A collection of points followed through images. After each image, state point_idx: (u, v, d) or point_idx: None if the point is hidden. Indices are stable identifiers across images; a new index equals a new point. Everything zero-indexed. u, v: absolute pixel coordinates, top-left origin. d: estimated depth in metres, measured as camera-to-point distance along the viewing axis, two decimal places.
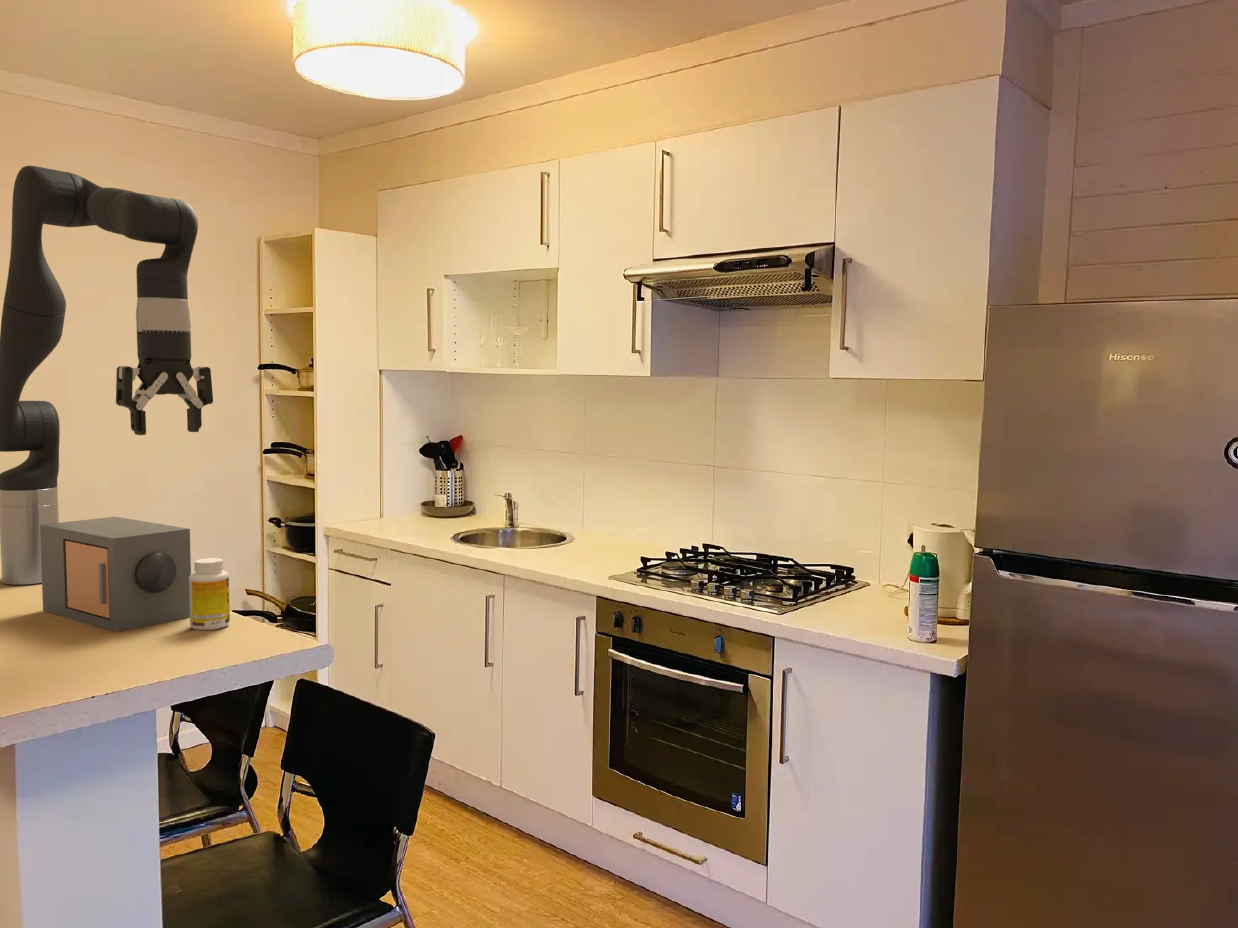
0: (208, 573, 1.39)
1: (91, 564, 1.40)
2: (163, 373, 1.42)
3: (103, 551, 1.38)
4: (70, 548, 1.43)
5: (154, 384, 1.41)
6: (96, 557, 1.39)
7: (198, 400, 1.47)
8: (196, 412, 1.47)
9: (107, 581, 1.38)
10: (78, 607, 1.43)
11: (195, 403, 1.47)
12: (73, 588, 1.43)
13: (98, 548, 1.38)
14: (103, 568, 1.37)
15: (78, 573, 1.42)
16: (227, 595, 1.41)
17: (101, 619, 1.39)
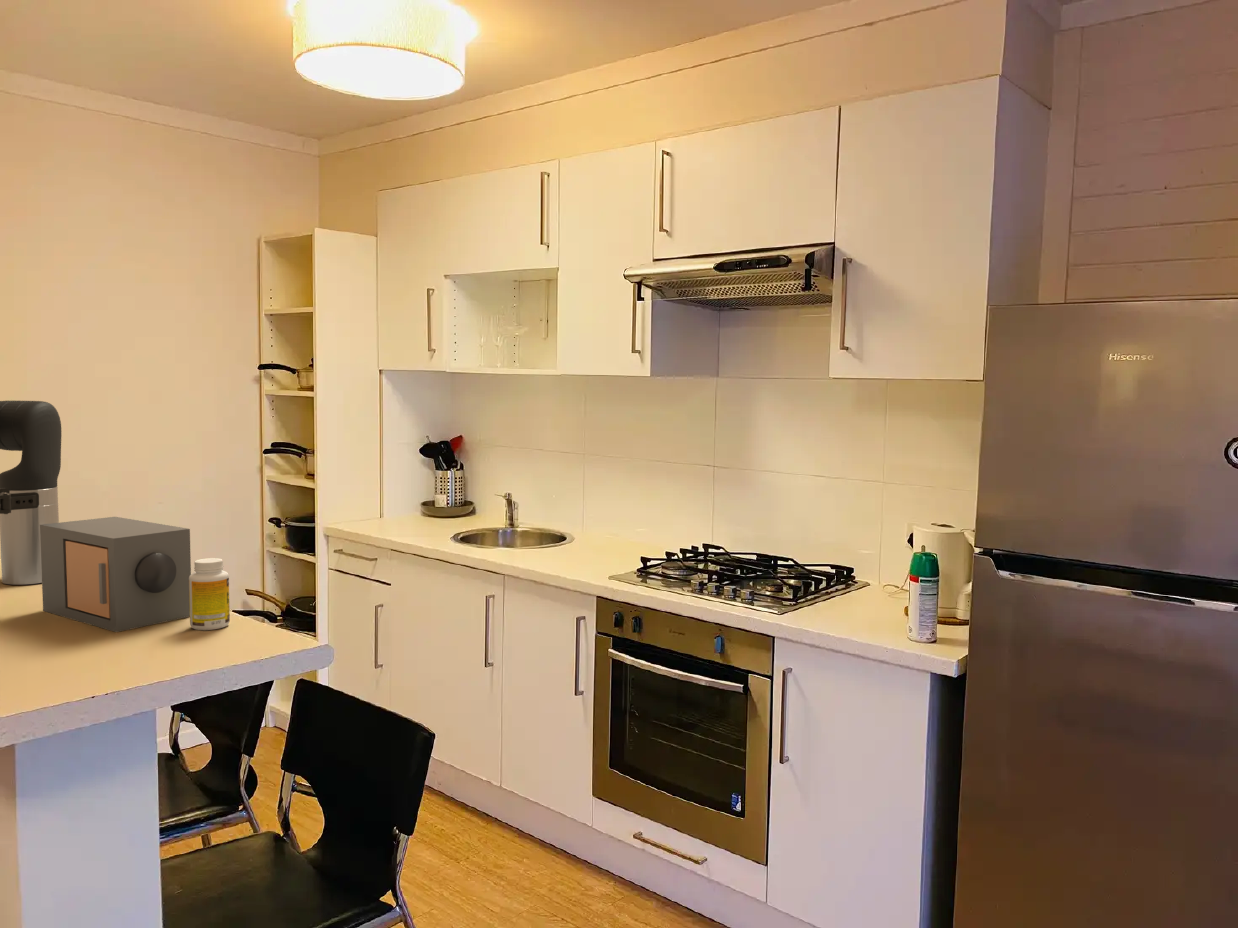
0: (208, 573, 1.39)
1: (91, 564, 1.40)
2: None
3: (103, 551, 1.38)
4: (70, 548, 1.43)
5: None
6: (96, 557, 1.39)
7: None
8: (13, 509, 1.26)
9: (107, 581, 1.38)
10: (78, 607, 1.43)
11: None
12: (73, 588, 1.43)
13: (98, 548, 1.38)
14: (103, 568, 1.37)
15: (78, 573, 1.42)
16: (227, 595, 1.41)
17: (101, 619, 1.39)
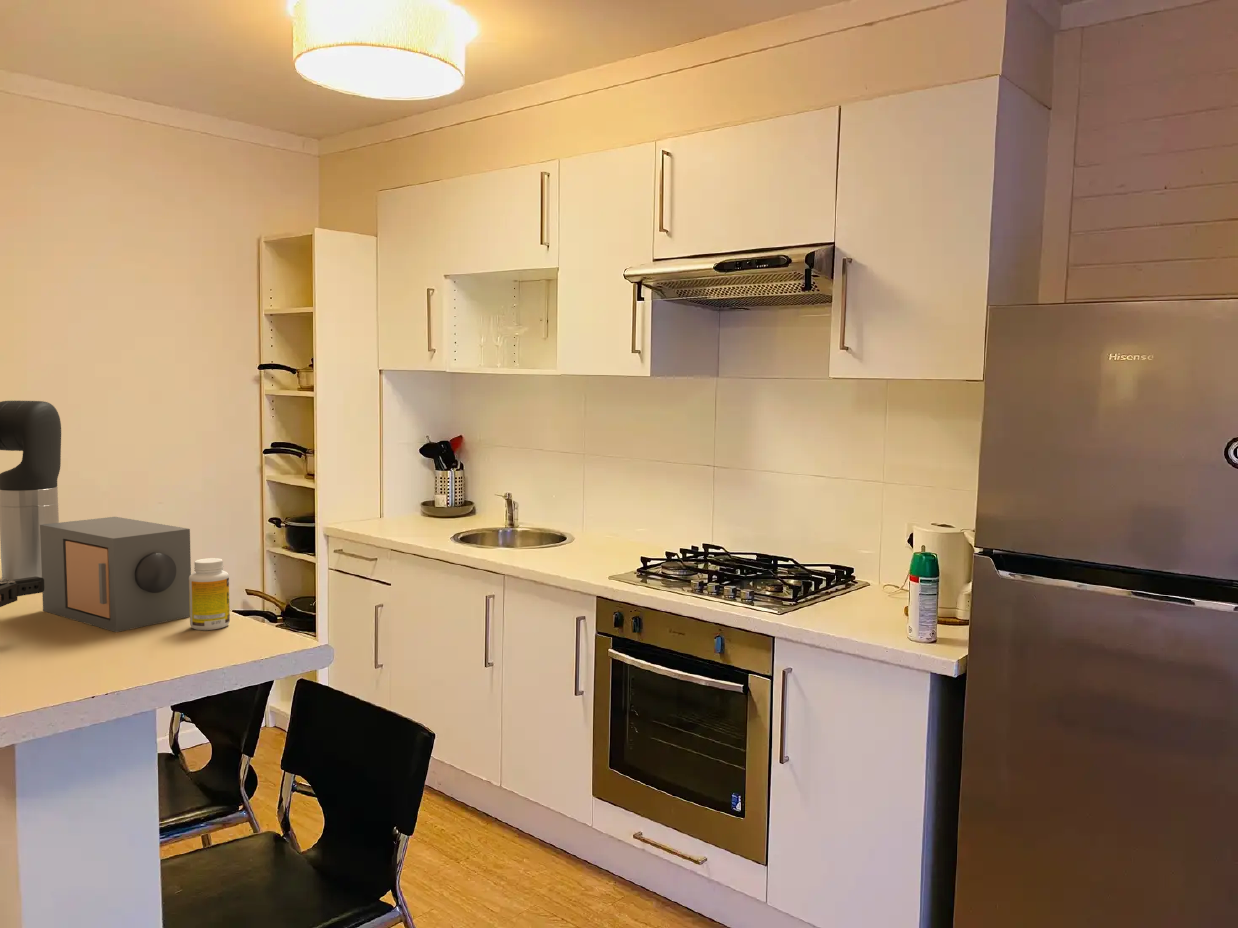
0: (208, 573, 1.39)
1: (91, 564, 1.40)
2: None
3: (103, 551, 1.38)
4: (70, 548, 1.43)
5: None
6: (96, 557, 1.39)
7: None
8: None
9: (107, 581, 1.38)
10: (78, 607, 1.43)
11: None
12: (73, 588, 1.43)
13: (98, 548, 1.38)
14: (103, 568, 1.37)
15: (78, 573, 1.42)
16: (227, 595, 1.41)
17: (101, 619, 1.39)
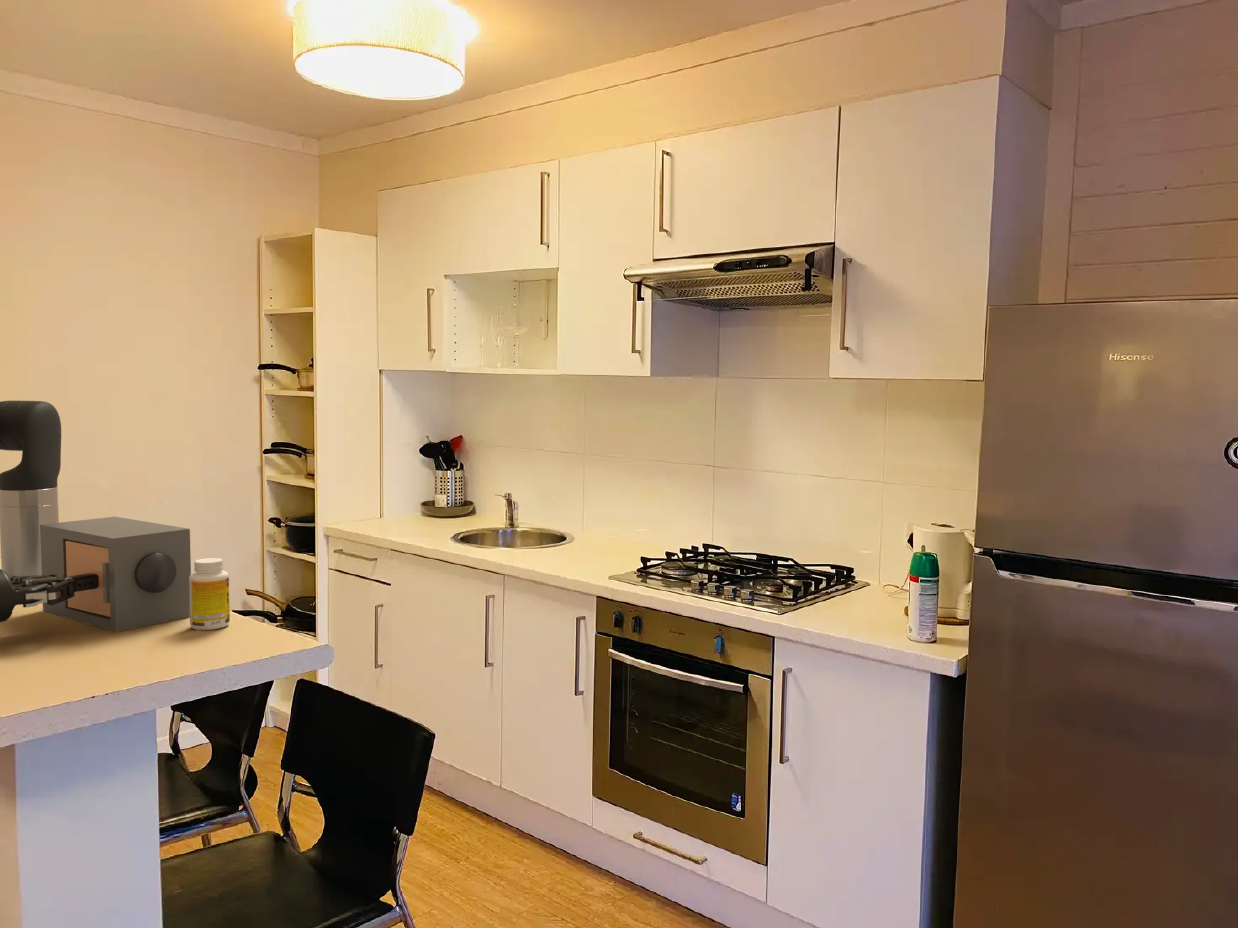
0: (208, 573, 1.39)
1: (94, 564, 1.40)
2: None
3: (107, 551, 1.38)
4: (71, 548, 1.43)
5: None
6: (99, 557, 1.39)
7: None
8: None
9: None
10: (79, 607, 1.43)
11: None
12: None
13: (101, 548, 1.39)
14: (107, 567, 1.38)
15: (80, 573, 1.42)
16: (227, 595, 1.41)
17: (101, 619, 1.39)
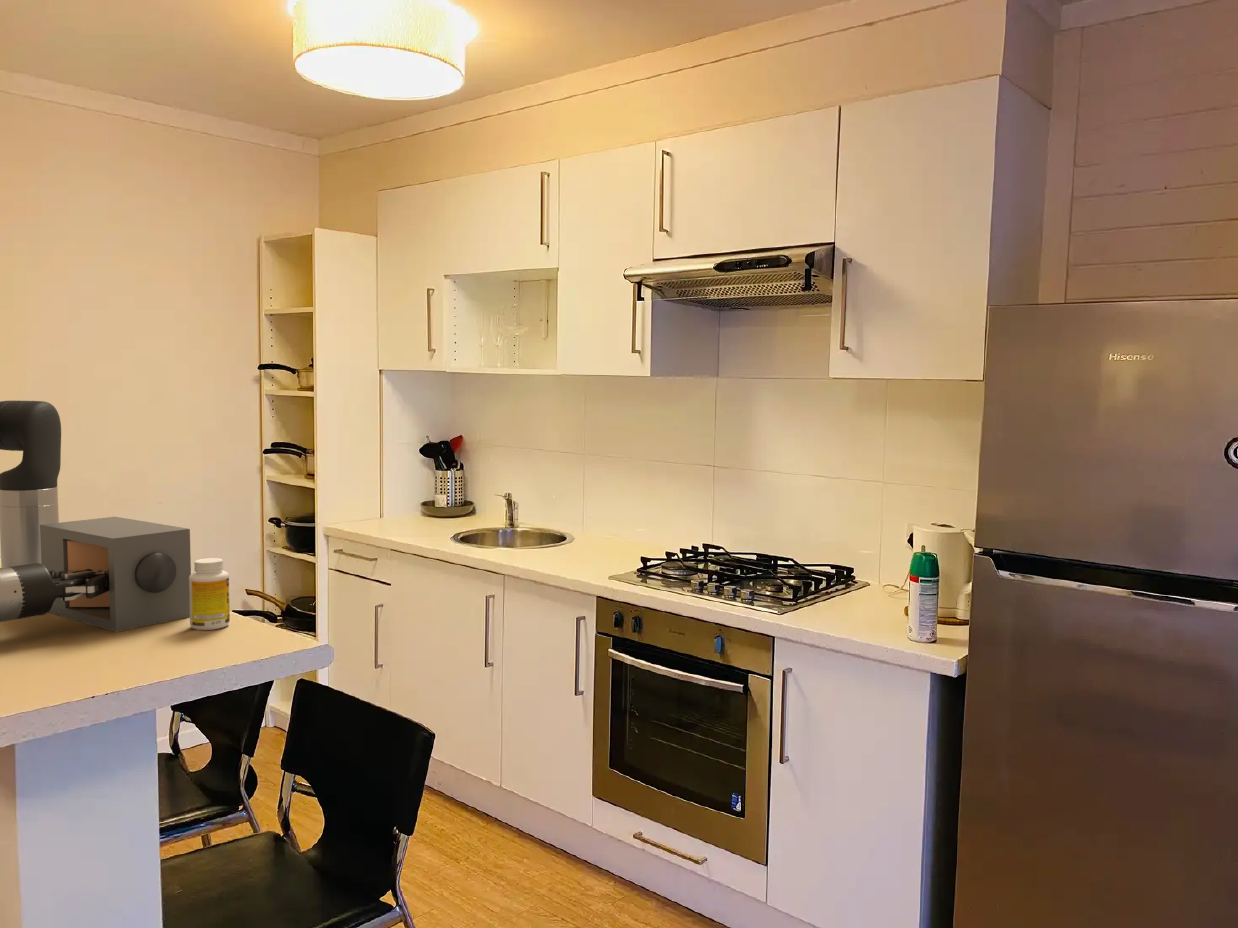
0: (208, 573, 1.39)
1: None
2: None
3: None
4: (77, 547, 1.44)
5: None
6: None
7: None
8: None
9: None
10: (91, 604, 1.45)
11: None
12: None
13: None
14: None
15: None
16: (227, 595, 1.41)
17: (101, 619, 1.39)
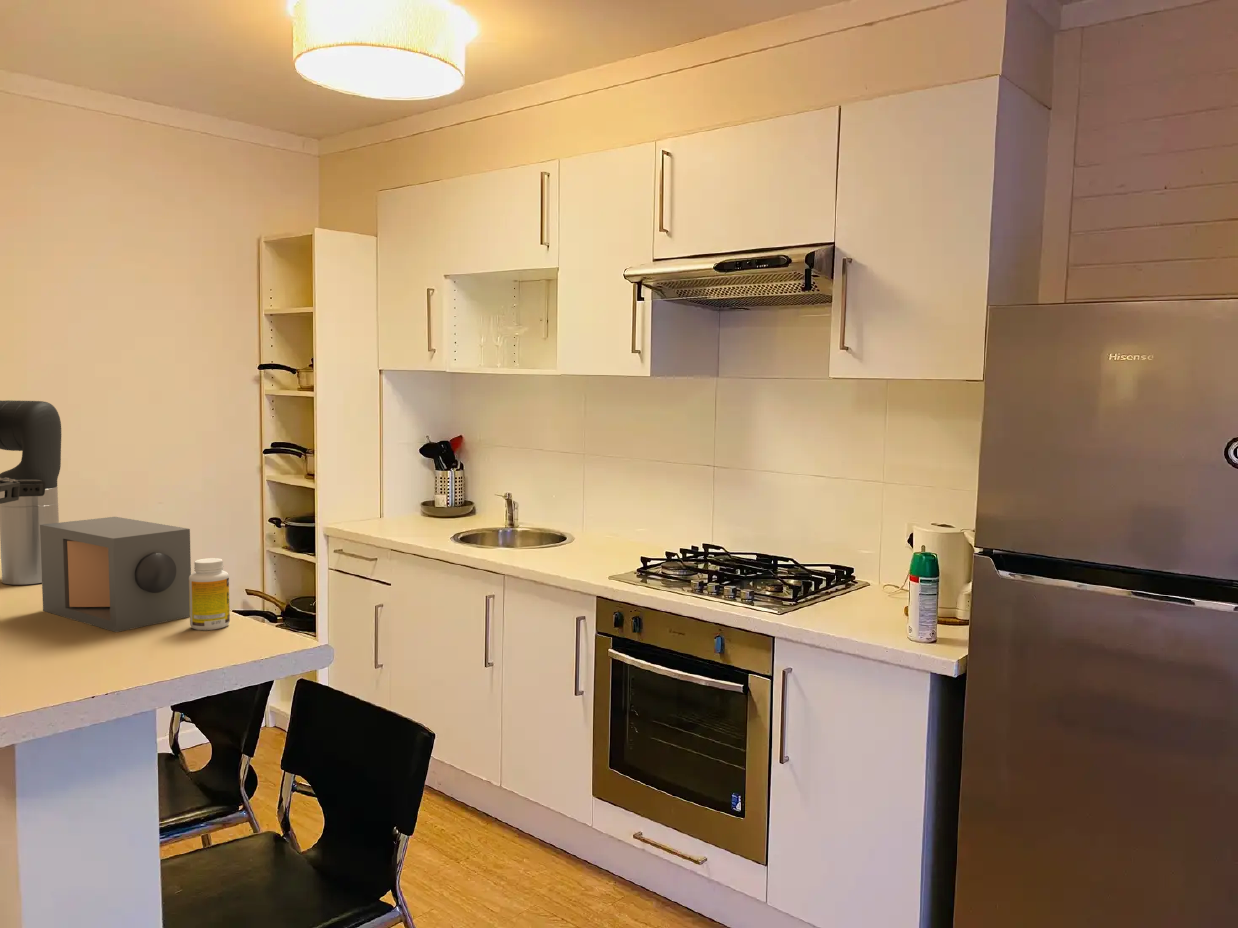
0: (208, 573, 1.39)
1: None
2: None
3: None
4: (77, 547, 1.44)
5: None
6: None
7: None
8: None
9: None
10: (91, 604, 1.45)
11: None
12: (82, 586, 1.44)
13: None
14: None
15: (92, 570, 1.44)
16: (227, 595, 1.41)
17: (101, 619, 1.39)
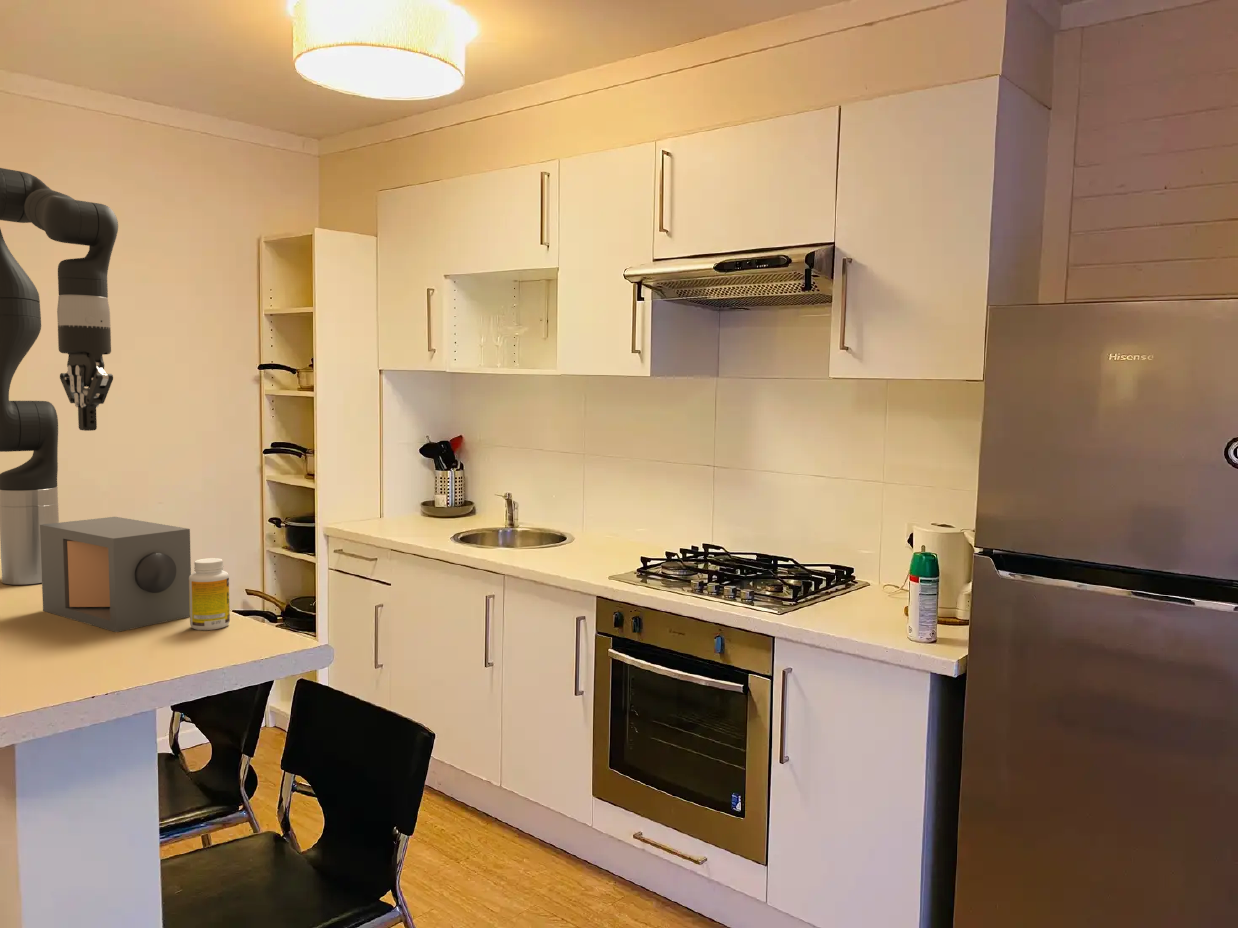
0: (208, 573, 1.39)
1: None
2: (68, 367, 1.52)
3: None
4: (77, 547, 1.44)
5: (70, 380, 1.52)
6: None
7: (82, 400, 1.51)
8: (81, 411, 1.52)
9: None
10: (91, 604, 1.45)
11: (80, 400, 1.52)
12: (82, 586, 1.44)
13: None
14: None
15: (92, 570, 1.44)
16: (227, 595, 1.41)
17: (101, 619, 1.39)
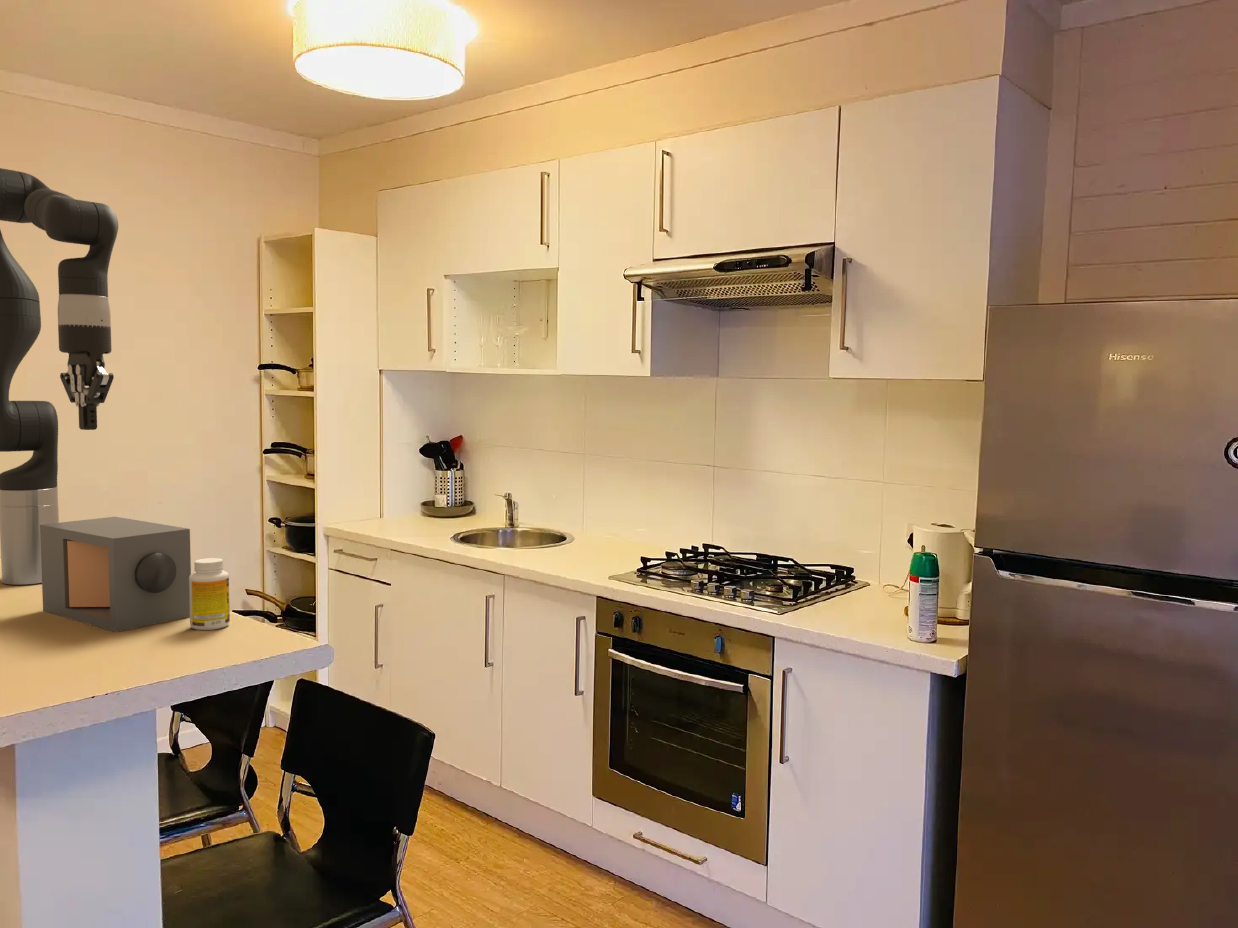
0: (208, 573, 1.39)
1: None
2: (68, 366, 1.52)
3: None
4: (77, 547, 1.44)
5: (71, 379, 1.52)
6: None
7: (83, 399, 1.51)
8: (81, 410, 1.52)
9: None
10: (91, 604, 1.45)
11: (81, 399, 1.52)
12: (82, 586, 1.44)
13: None
14: None
15: (92, 570, 1.44)
16: (227, 595, 1.41)
17: (101, 619, 1.39)
